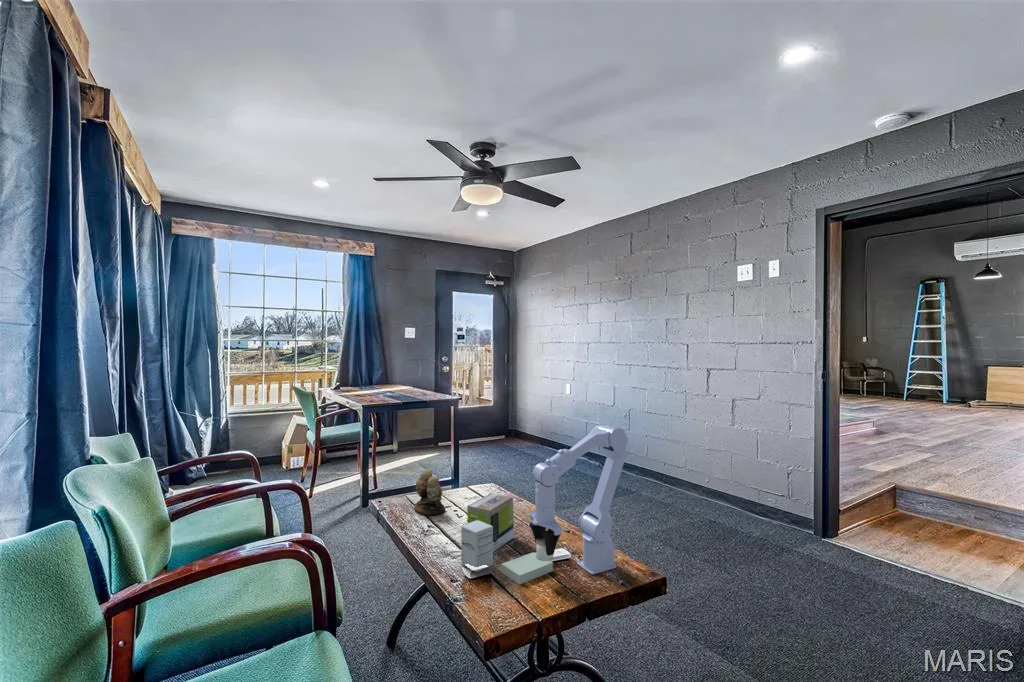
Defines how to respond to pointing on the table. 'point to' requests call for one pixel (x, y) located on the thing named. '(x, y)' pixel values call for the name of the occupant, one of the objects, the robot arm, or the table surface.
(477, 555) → the supplement box
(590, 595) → the table surface
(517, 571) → the sage book
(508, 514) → the tea box
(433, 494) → the brown rock sculpture
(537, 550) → the cream cup
